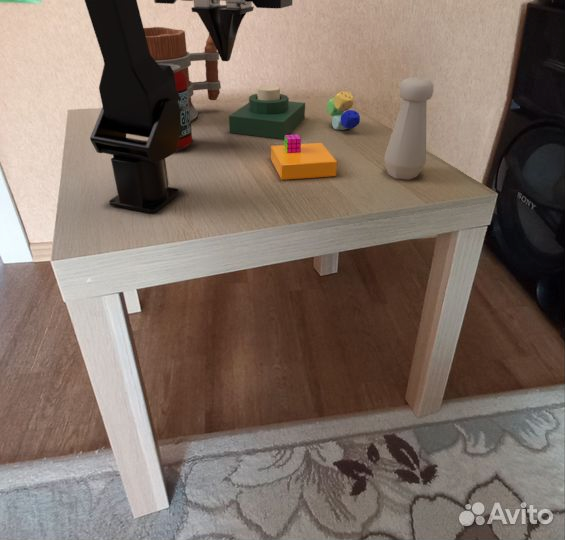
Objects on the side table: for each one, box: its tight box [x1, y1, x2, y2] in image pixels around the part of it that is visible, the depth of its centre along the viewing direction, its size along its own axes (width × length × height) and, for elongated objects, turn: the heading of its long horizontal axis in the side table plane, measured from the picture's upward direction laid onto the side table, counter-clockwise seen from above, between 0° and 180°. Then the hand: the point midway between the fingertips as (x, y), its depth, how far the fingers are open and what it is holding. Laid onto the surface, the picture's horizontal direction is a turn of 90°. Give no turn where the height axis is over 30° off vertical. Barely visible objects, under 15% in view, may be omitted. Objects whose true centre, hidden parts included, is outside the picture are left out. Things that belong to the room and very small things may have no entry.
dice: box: [326, 90, 361, 131], centre depth 83 cm, size 8×3×6 cm, turn 25°
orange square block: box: [270, 134, 338, 181], centre depth 68 cm, size 8×8×4 cm
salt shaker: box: [383, 76, 434, 181], centre depth 64 cm, size 6×6×13 cm
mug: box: [143, 26, 222, 122], centre depth 86 cm, size 14×19×15 cm
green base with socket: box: [228, 93, 306, 140], centre depth 85 cm, size 13×10×5 cm
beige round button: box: [256, 84, 281, 101], centre depth 83 cm, size 4×4×2 cm
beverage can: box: [159, 64, 193, 151], centre depth 73 cm, size 7×7×12 cm
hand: (225, 60), depth 69 cm, fingers closed
